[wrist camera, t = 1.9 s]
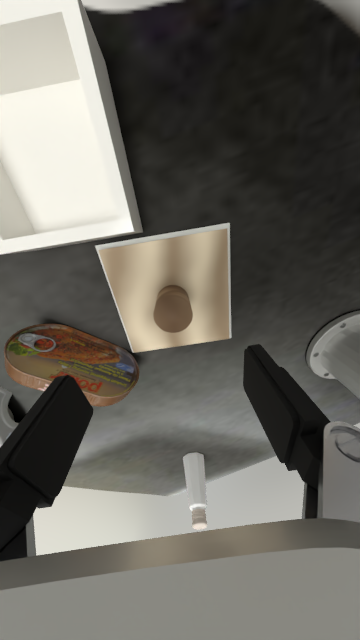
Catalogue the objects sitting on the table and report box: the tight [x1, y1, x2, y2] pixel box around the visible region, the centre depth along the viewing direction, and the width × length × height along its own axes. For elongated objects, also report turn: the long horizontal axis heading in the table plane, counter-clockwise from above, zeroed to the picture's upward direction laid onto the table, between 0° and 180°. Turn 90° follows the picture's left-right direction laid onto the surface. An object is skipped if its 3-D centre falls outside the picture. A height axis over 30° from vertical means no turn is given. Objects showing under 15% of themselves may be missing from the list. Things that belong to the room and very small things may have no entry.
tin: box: [4, 324, 139, 406], centre depth 21 cm, size 15×3×8 cm, turn 60°
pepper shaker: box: [183, 452, 207, 530], centre depth 36 cm, size 5×5×11 cm
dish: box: [0, 0, 143, 254], centre depth 14 cm, size 12×12×5 cm
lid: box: [98, 229, 229, 353], centre depth 19 cm, size 14×14×5 cm
